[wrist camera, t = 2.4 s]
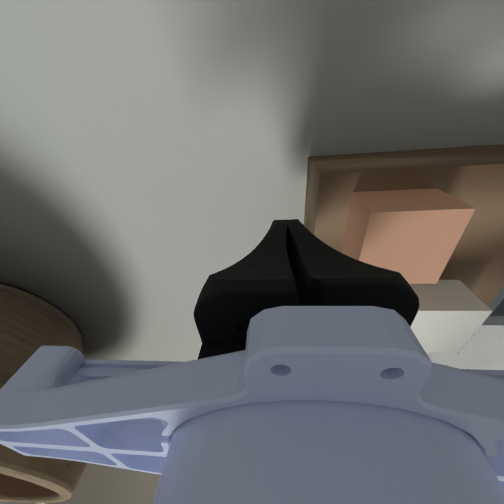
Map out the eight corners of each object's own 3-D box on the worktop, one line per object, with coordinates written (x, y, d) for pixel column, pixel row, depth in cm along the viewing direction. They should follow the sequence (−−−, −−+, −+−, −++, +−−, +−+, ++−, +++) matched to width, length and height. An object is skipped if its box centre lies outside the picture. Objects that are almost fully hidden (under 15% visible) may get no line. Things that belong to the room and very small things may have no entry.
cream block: (434, 321, 16) (458, 353, 14) (377, 320, 16) (392, 352, 14) (459, 279, 14) (492, 311, 12) (392, 280, 14) (412, 310, 12)
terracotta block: (410, 254, 13) (436, 283, 11) (340, 256, 13) (353, 284, 11) (436, 188, 11) (475, 208, 9) (352, 192, 11) (370, 212, 9)
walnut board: (436, 292, 20) (470, 330, 16) (299, 292, 21) (305, 328, 18) (516, 143, 13) (601, 158, 10) (308, 157, 14) (319, 174, 11)
